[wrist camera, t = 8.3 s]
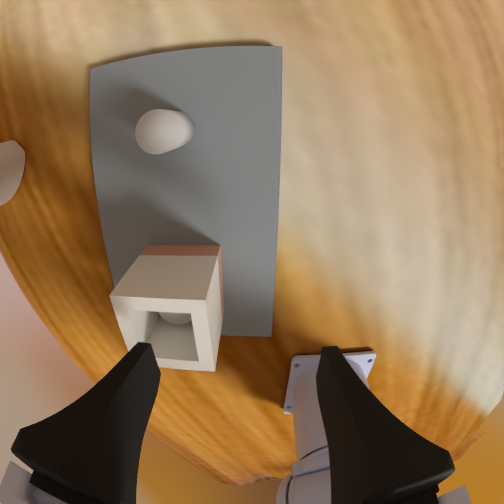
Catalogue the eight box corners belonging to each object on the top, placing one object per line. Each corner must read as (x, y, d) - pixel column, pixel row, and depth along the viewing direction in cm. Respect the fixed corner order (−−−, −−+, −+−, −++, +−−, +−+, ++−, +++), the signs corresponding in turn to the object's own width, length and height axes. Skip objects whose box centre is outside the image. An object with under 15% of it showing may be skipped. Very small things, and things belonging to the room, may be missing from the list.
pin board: (270, 328, 22) (273, 370, 18) (130, 320, 22) (111, 356, 18) (280, 50, 14) (288, 28, 10) (97, 70, 14) (58, 62, 10)
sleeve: (224, 308, 20) (214, 371, 15) (159, 306, 20) (133, 363, 15) (220, 245, 18) (205, 300, 13) (147, 245, 18) (109, 295, 13)
